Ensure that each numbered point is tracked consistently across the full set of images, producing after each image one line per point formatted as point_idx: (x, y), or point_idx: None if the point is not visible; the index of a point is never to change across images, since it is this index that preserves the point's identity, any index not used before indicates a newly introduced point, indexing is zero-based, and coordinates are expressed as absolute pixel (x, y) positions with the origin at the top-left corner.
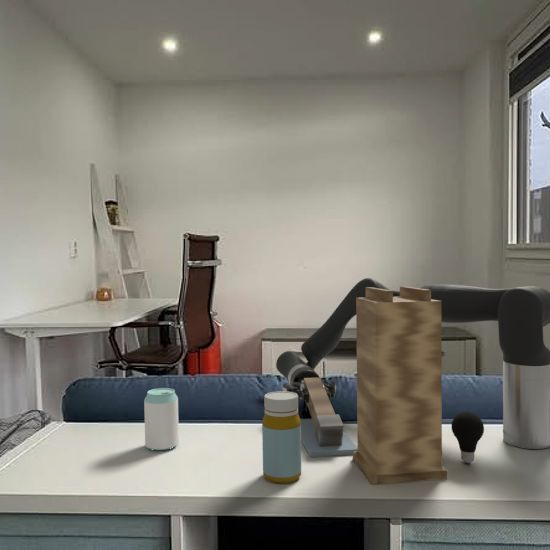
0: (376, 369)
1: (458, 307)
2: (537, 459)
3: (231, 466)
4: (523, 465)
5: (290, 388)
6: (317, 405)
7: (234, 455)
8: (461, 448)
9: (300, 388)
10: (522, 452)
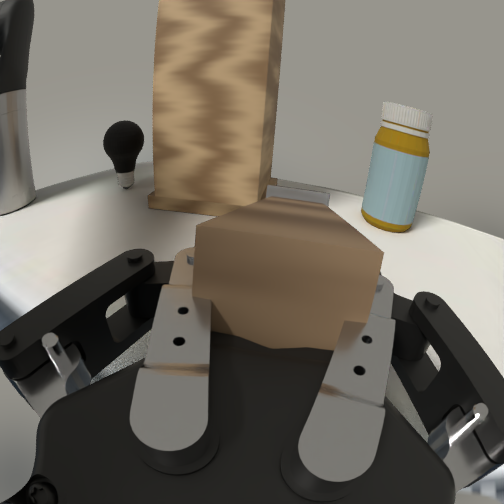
0: (281, 49)
1: None
2: (60, 184)
3: (460, 257)
4: (86, 180)
5: (457, 325)
6: (315, 206)
7: (472, 283)
8: (134, 166)
9: (389, 288)
10: (47, 193)
